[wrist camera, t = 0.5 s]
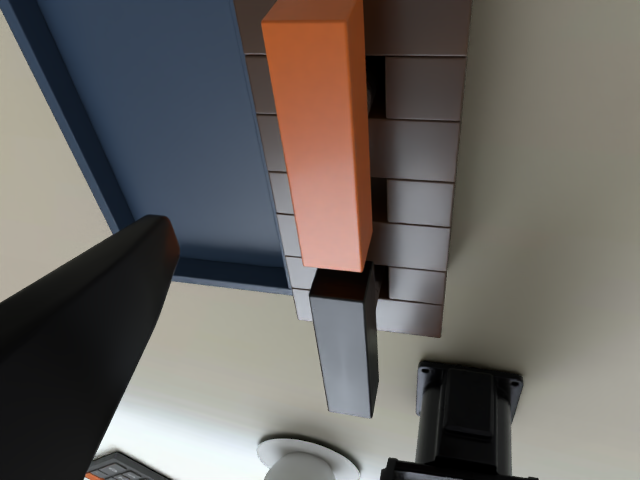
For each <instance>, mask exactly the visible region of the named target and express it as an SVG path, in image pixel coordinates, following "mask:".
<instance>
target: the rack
mask: <svg viewBox="0 0 640 480" xmlns="http://www.w3.org/2000/svg"><path fill="white" fill-rule="evenodd" d="M276 1H277V0H233V3H234V8H235V13H236V18H237V22H238V27H239V32H240V37H241V42H242V47H243V52H244V54H245V62H246V66H247V71H248V76H249V81H250V86H251V91H252V96H253V101H254V106H255V111H256V113H257V114H256V117H257V122H258V127H259V132H260V137H261V142H262V147H263V152H264V156H265V161H266V166H267V170H268V175H269V180H270V185H271V190H272V194H273V199H274V204H275V209H276V212H277V213H276V216H277V221H278V226H279V231H280V235H281V240H282V245H283V250H284V255H285V259H286V264H287V269H288V274H289V279H290V284H291V287H292V293H293V298H294V303H295V308H296V313H297V317H298V319H299V320H305V321H313V319H312V313H311V307H310V302H309V296H308V295H309V292H310V288H311V285H312V282H313V279H314V276H315V273H316V270H317V268H314V267H305V266H303V262H302V257H301V251H300V245H299V239H298V234H297V228H296V222H295V216H294V211H293V205H292V199H291V193H290V188H289V182H288V176H287V170H286V165H285V159H284V153H283V147H282V142H281V136H280V130H279V124H278V119H277V113H276V107H275V101H274V96H273V90H272V84H271V78H270V73H269V67H268V61H267V55H266V50H265V44H264V38H263V32H262V27H261V21H262V19H263V18H264V17H265V16H266V14H267V13H268V12H269V10H270V9H271V8H272V7H273V5H274V4H275V3H276ZM472 3H473V0H363V14H364V38H365V56H385V66H384V69H383V72H382V75H381V78H380V81H379V84H378V88H377V91H376V94H375V97H374V100H373V103H372V106H371V109H370V112H369V115H368V133H369V157H370V181H371V204H372V228H373V232H372V236H371V240H370V244H369V248H368V252H367V257H366V260H370V261H373V262H374V264H377V265H385V268H384V273H383V278H382V283H381V288H380V293H379V298H378V302H377V307H376V325H377V330H381V331H389V332H397V333H404V334H412V335H420V336H427V337H435V338H440V337H441V331H442V321H443V310H444V299H445V289H446V278H447V268H448V257H449V247H450V236H451V225H452V215H453V204H454V194H455V183H456V173H457V162H458V151H459V141H460V130H461V120H462V109H463V99H464V88H465V77H466V67H467V56H468V46H469V35H470V25H471V14H472Z"/></svg>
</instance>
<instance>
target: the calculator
mask: <svg viewBox="0 0 640 480" xmlns="http://www.w3.org/2000/svg"><path fill="white" fill-rule="evenodd" d="M85 477H86V478H88V479H90V480H168V479H166V478H165V477H163V476H161V475H159V474H157V473H155V472H153V471H152V470H150V469H148V468H146V467H144V466H142V465H140V464H139V463H137V462H135V461H133V460H131V459H129V458H127V457H126V456H124V455H122V454H120V453H117V452H116V453H113V454H110V455H108V456H105V457H103V458H100V459H98V460H95V461H92V463H91V465H90V467H89V469H88V471H87V473H86V475H85Z"/></svg>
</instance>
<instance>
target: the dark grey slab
mask: <svg viewBox="0 0 640 480" xmlns="http://www.w3.org/2000/svg"><path fill="white" fill-rule="evenodd" d="M384 268H385V265H377V264H374V262H373V261H370V260H366V261H365V265H364V269H363V271H362V272H351V271H342V270H332V269H323V268H317V270H316V273H315V276H314V279H313V282H312V285H311V288H310V292H309V295H308V296H309V302H310V307H311V313H312V319H313V325H314V330H315V336H316V342H317V348H318V353H319V359H320V365H321V371H322V376H323V382H324V388H325V394H326V400H327V405H328V411H330V412H335V413H341V414H347V415H353V416H358V417H364V418H372V416H373V411H374V405H375V400H376V394H377V388H378V383H379V372H378V349H377V325H376V307H377V302H378V298H379V293H380V288H381V283H382V278H383V273H384Z"/></svg>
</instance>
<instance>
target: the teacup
mask: <svg viewBox="0 0 640 480" xmlns="http://www.w3.org/2000/svg"><path fill="white" fill-rule="evenodd" d="M257 455H258V457H259V459H260V460H261V462H262V463H263V464H264V465H265V466H267V467H268V468H269V469H270V470H269V471H268V473H267V474H266V476H265V478H264V480H360V474H359V471H358V469H357V468H356V467H355V465H354V464H353V463H351V462H350V461H349V460H348V459H346V458H345V457H343V456H342V455H340V454H338V453H336V452H335V451H332V450H330V449H328V448H326V447H323V446H320V445H317V444H314V443H310V442H306V441H302V440H295V439H271V440H267V441H264V442H263V443H261V444H260V445H259V446H258V447H257Z"/></svg>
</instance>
